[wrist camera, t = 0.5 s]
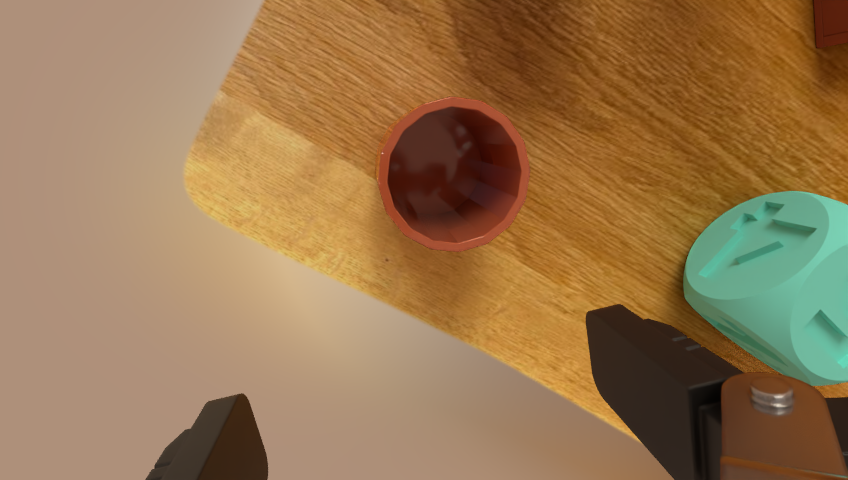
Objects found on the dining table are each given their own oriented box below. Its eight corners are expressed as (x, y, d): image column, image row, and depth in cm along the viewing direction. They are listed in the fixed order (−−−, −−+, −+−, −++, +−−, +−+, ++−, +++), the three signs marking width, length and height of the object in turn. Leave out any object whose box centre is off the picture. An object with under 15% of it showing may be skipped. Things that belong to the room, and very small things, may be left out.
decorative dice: (658, 277, 31) (755, 325, 23) (745, 182, 30) (875, 198, 23) (733, 346, 33) (846, 412, 25) (817, 258, 32) (960, 298, 24)
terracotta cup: (361, 124, 27) (359, 121, 19) (470, 94, 27) (511, 79, 19) (393, 231, 28) (402, 269, 21) (495, 202, 29) (542, 227, 21)
